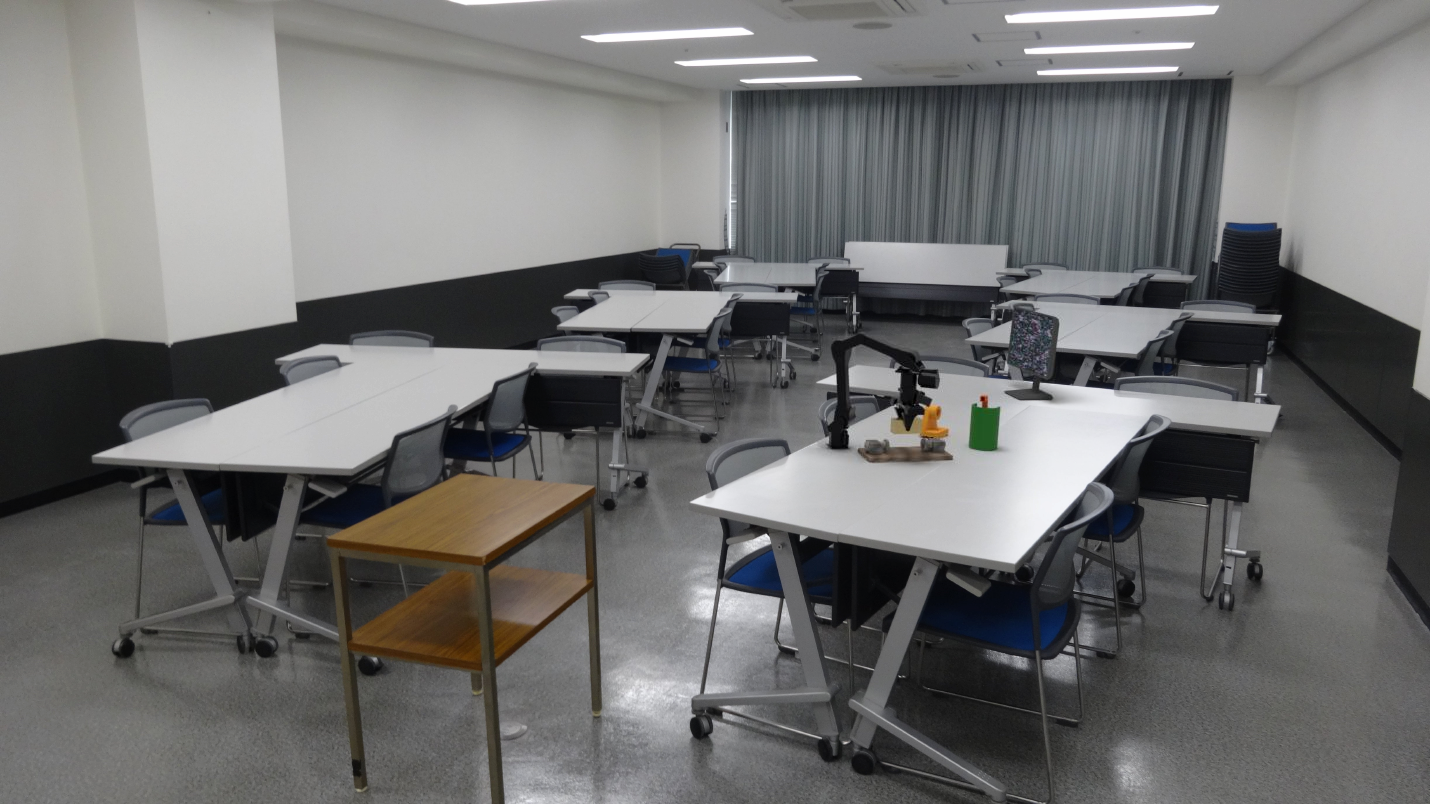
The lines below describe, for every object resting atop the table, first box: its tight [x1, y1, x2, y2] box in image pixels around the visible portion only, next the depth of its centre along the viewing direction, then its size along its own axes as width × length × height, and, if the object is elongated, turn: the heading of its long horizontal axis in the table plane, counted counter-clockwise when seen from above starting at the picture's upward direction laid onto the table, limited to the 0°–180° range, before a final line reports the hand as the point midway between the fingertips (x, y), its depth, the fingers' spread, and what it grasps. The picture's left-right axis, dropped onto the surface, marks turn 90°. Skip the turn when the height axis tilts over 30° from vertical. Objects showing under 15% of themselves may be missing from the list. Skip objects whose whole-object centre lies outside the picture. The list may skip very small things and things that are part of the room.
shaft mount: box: [857, 437, 954, 463], centre depth 335 cm, size 30×14×6 cm, turn 99°
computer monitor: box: [1003, 305, 1060, 401], centre depth 440 cm, size 44×16×40 cm, turn 6°
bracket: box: [919, 404, 950, 439], centre depth 364 cm, size 11×7×12 cm, turn 142°
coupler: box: [890, 416, 922, 435], centre depth 333 cm, size 10×4×5 cm, turn 99°
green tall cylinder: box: [968, 394, 1001, 451], centre depth 347 cm, size 10×9×20 cm
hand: (905, 429), depth 334 cm, fingers closed on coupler, 4 cm apart
